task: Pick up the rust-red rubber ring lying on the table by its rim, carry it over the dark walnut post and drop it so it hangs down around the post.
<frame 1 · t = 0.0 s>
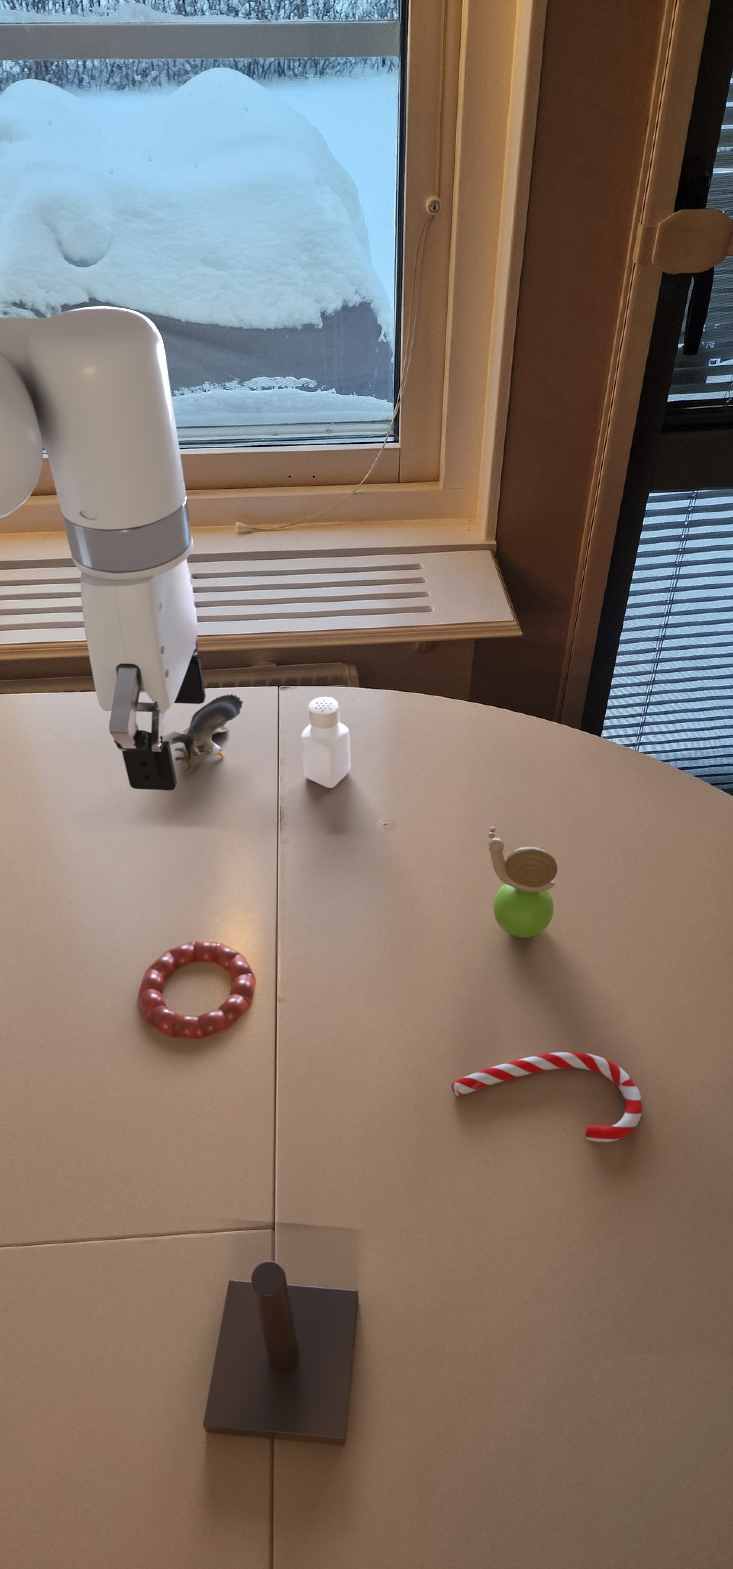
hand: (170, 742, 75), 27 cm above the table, tool pointing down, fingers open, 9 cm apart
post: (285, 1362, 69), on the table
candy cane: (544, 1100, 83), on the table
eagle figurine: (207, 753, 116), on the table
pepper shaker: (327, 776, 113), on the table
snail figurine: (515, 927, 97), on the table
ring: (197, 989, 91), point 1 cm above the table
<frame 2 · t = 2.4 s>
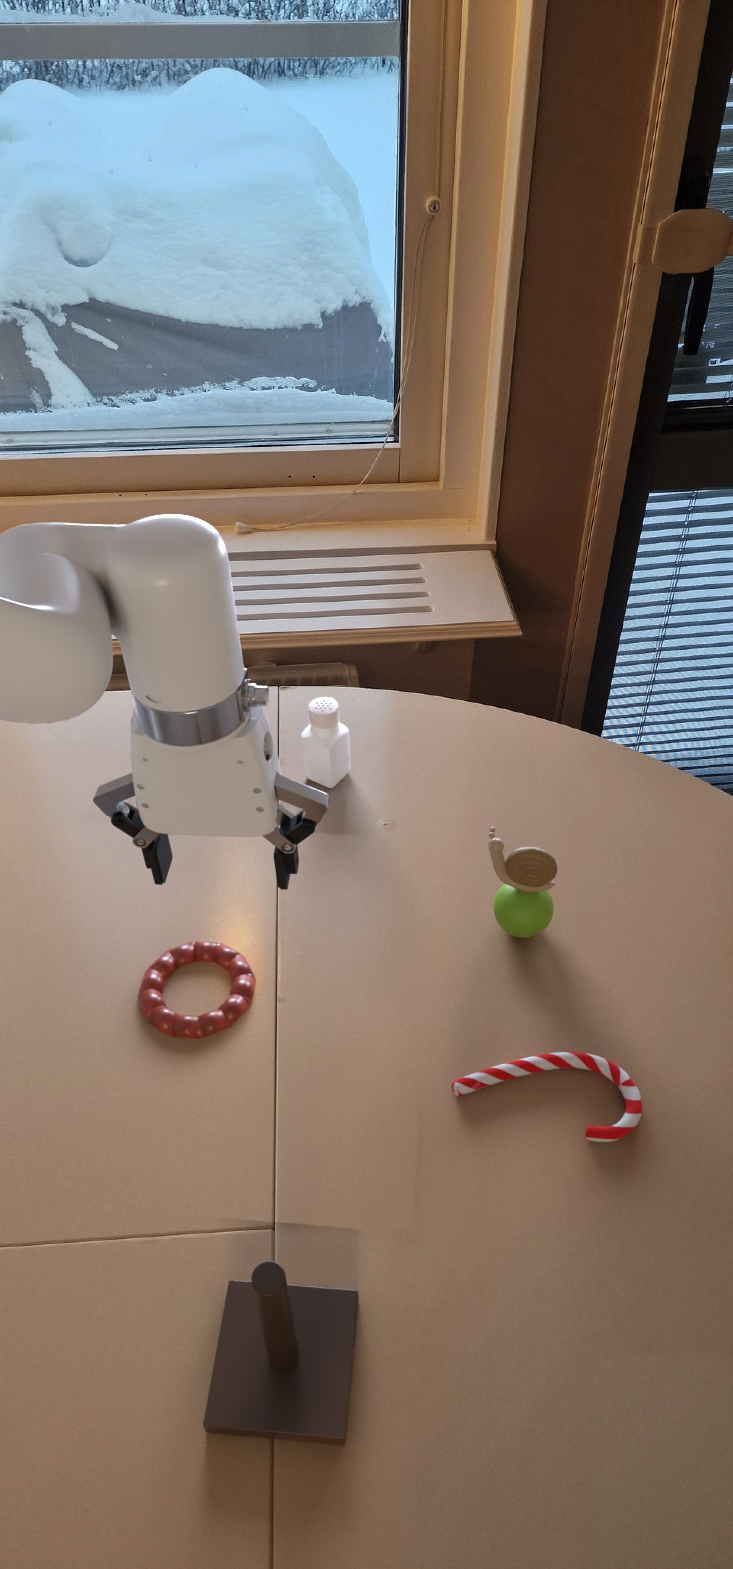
hand: (224, 873, 81), 16 cm above the table, tool pointing down, fingers open, 9 cm apart
nothing on the table moved.
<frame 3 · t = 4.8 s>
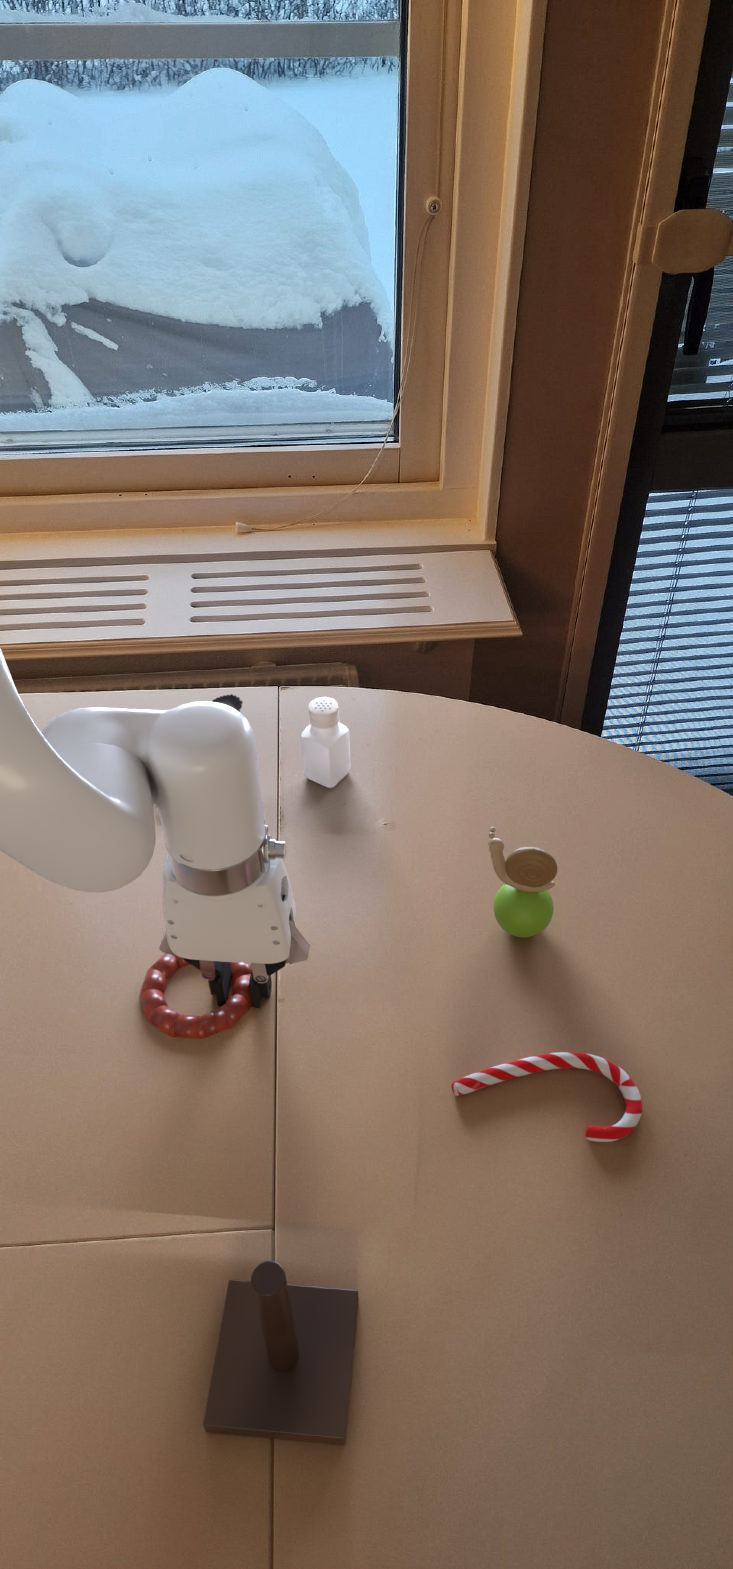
hand: (242, 996, 91), 0 cm above the table, tool pointing down, fingers closed on ring, 2 cm apart
ring: (198, 989, 91), point 1 cm above the table, touching gripper
everything else where it was.
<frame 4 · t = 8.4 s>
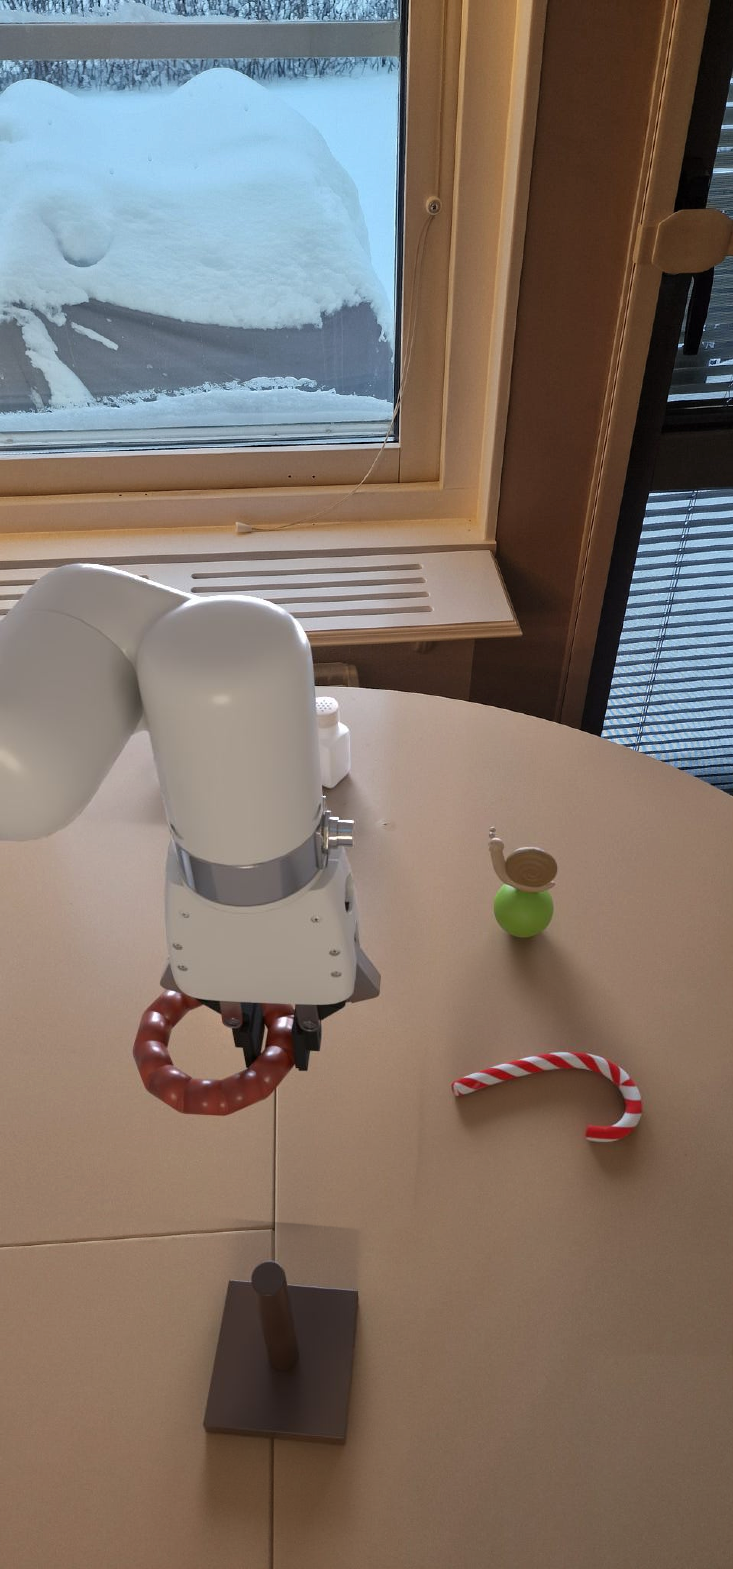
hand: (280, 1047, 63), 20 cm above the table, tool pointing down, fingers closed on ring, 2 cm apart
ring: (217, 1038, 63), point 21 cm above the table, touching gripper
everything else where it was.
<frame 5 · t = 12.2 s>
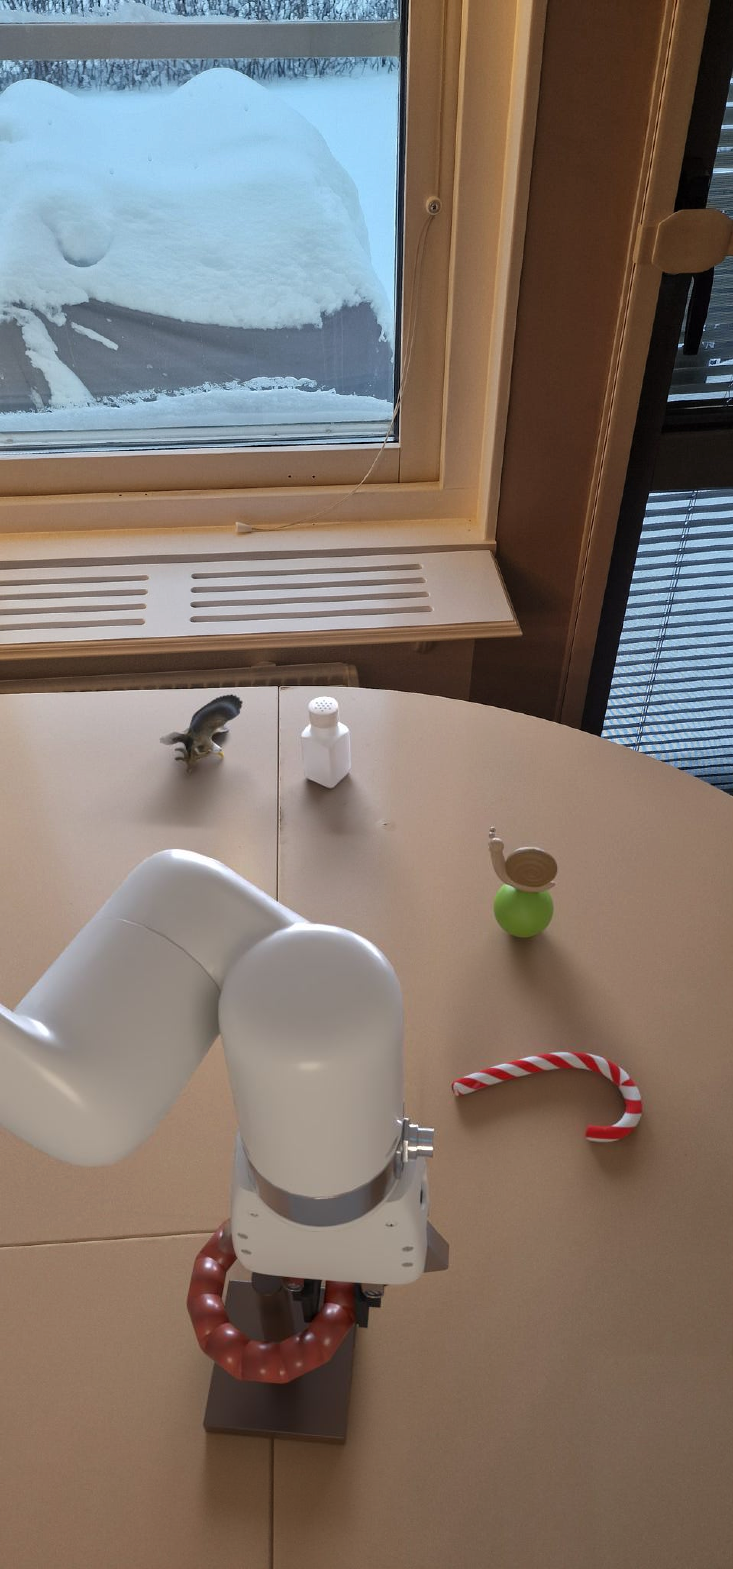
hand: (338, 1297, 61), 11 cm above the table, tool pointing down, fingers closed on ring
ring: (274, 1287, 61), point 12 cm above the table, touching gripper
everything else where it was.
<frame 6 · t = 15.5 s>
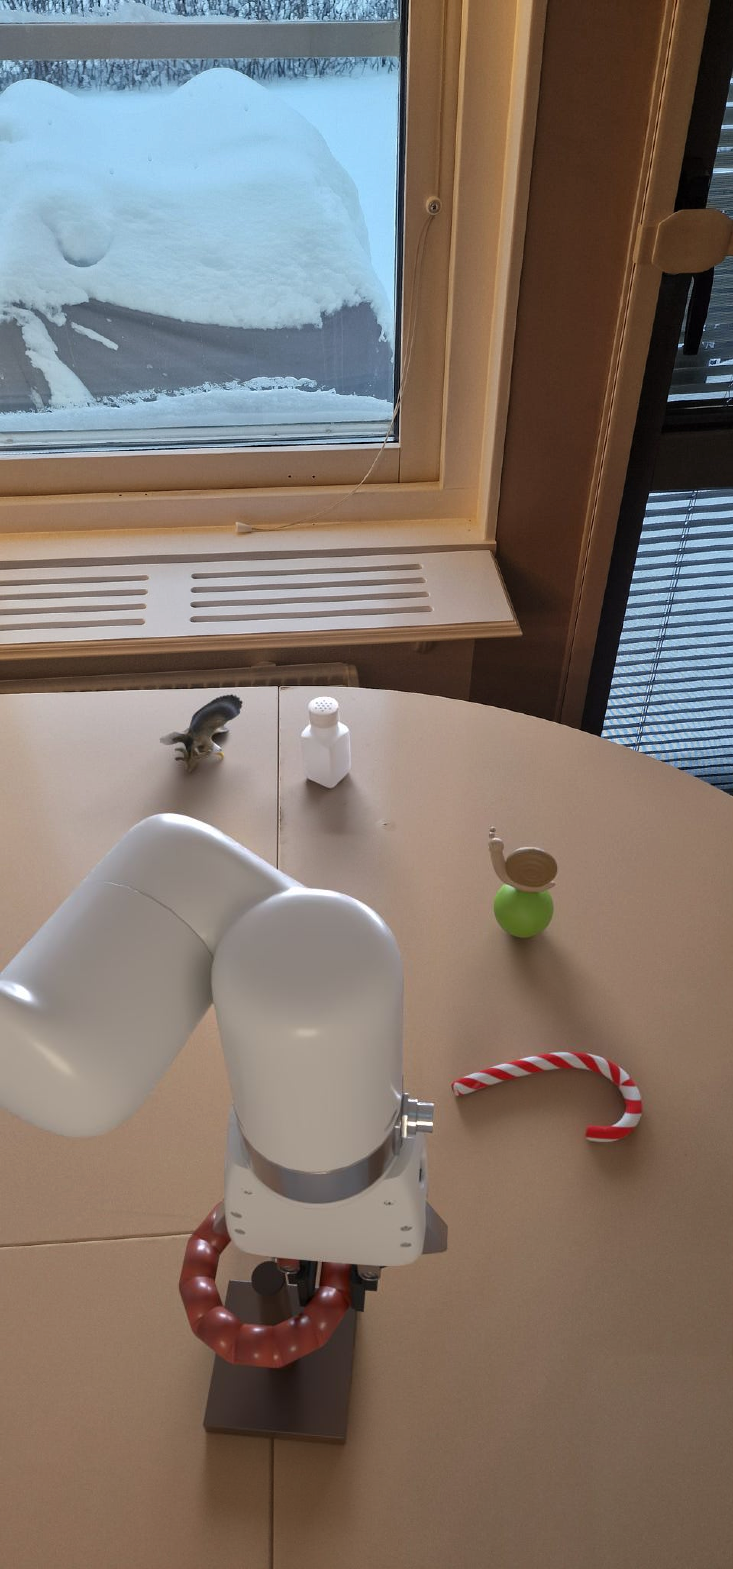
hand: (334, 1281, 60), 14 cm above the table, tool pointing down, fingers closed on ring
ring: (268, 1270, 60), point 14 cm above the table, touching gripper
everything else where it was.
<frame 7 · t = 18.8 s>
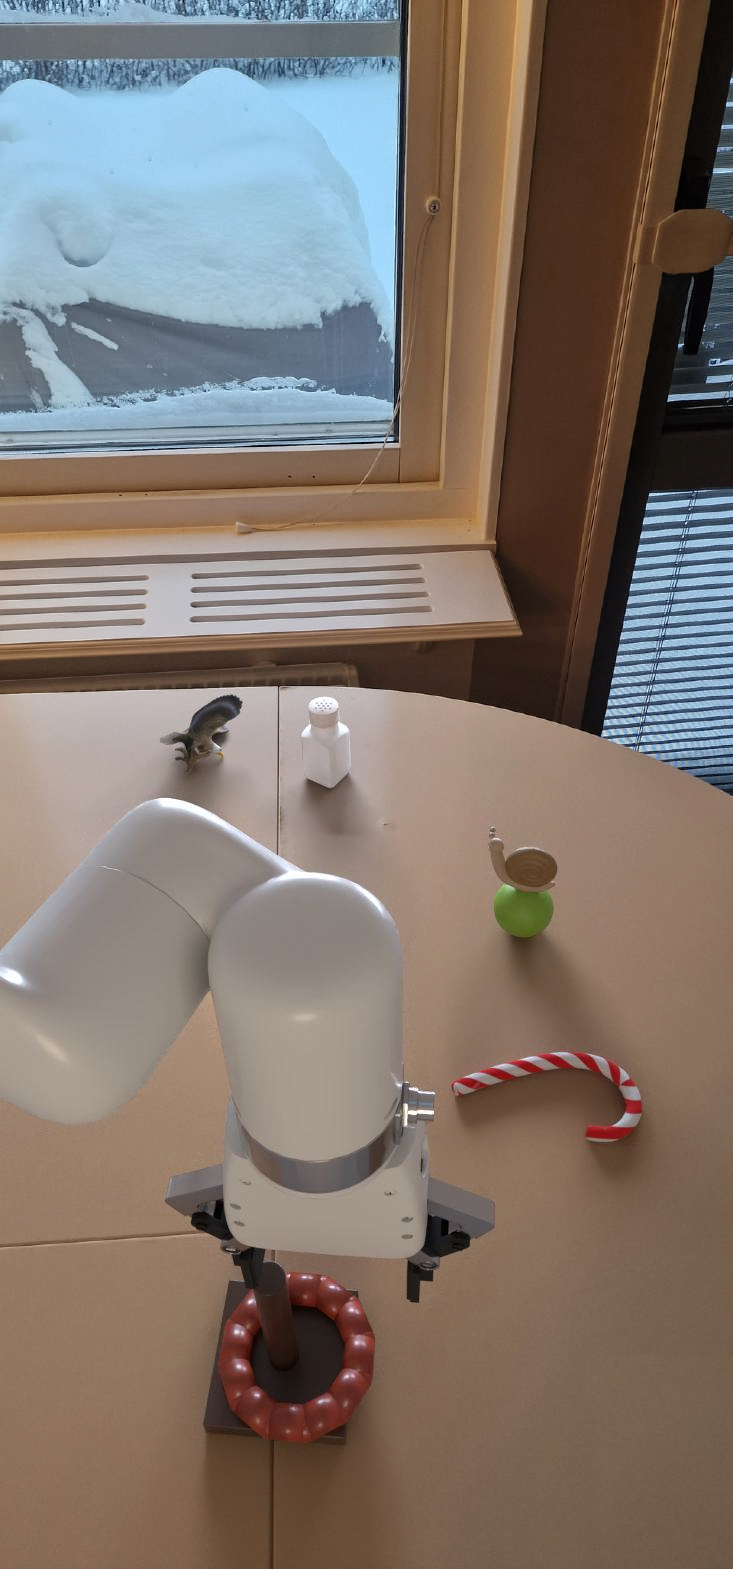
hand: (335, 1268, 58), 16 cm above the table, tool pointing down, fingers open, 8 cm apart
ring: (297, 1352, 67), point 2 cm above the table, touching post
everything else where it was.
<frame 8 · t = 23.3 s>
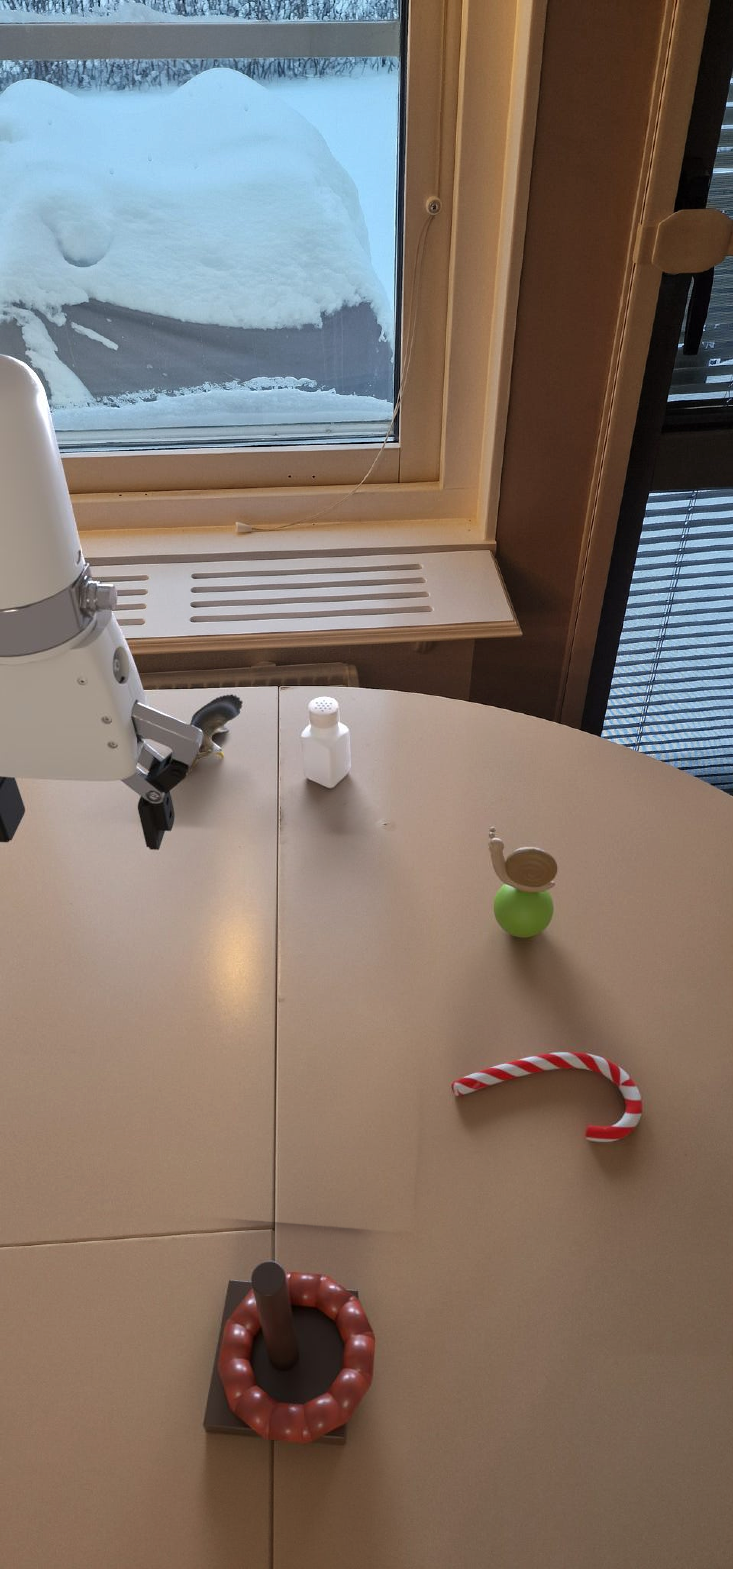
hand: (85, 830, 67), 28 cm above the table, tool pointing down, fingers open, 9 cm apart
nothing on the table moved.
at the end: ring 1.0 cm from the post (horizontally); ring point 2.5 cm above the table; the gripper is holding nothing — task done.
